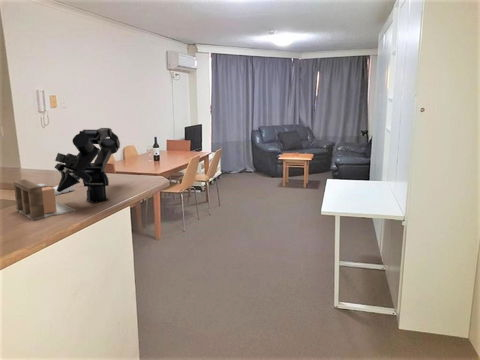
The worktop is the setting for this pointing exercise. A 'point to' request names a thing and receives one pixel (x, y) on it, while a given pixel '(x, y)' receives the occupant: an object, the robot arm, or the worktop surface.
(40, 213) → the socket block
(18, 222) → the worktop surface
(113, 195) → the worktop surface
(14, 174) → the worktop surface
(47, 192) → the terracotta plug
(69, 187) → the unicorn horn
